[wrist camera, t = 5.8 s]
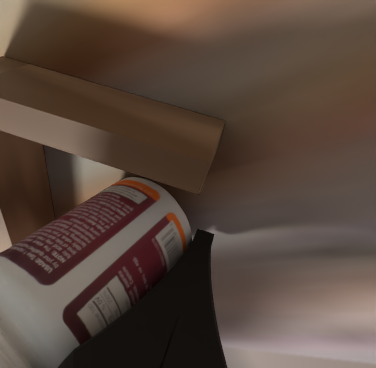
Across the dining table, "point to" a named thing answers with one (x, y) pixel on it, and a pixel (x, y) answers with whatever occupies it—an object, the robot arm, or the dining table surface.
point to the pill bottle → (86, 270)
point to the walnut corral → (88, 139)
